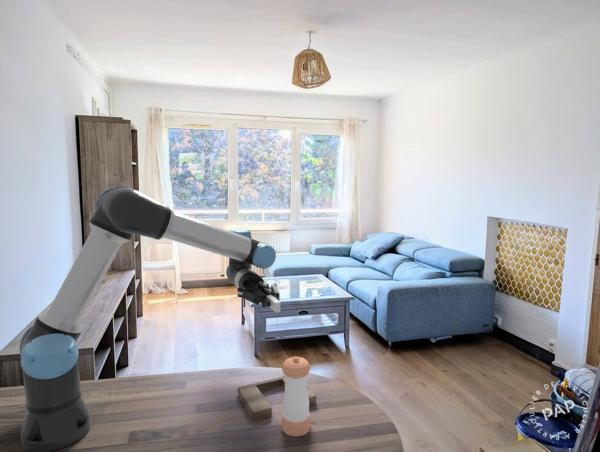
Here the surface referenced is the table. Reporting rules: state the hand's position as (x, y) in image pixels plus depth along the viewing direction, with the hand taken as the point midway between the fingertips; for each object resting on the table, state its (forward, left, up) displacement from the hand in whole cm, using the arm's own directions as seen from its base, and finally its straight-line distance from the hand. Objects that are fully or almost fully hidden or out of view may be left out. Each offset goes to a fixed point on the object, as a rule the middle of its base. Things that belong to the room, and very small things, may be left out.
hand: (277, 307), depth 114 cm
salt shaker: (+12, -2, -28) cm, 31 cm away
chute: (-1, 0, -28) cm, 28 cm away
